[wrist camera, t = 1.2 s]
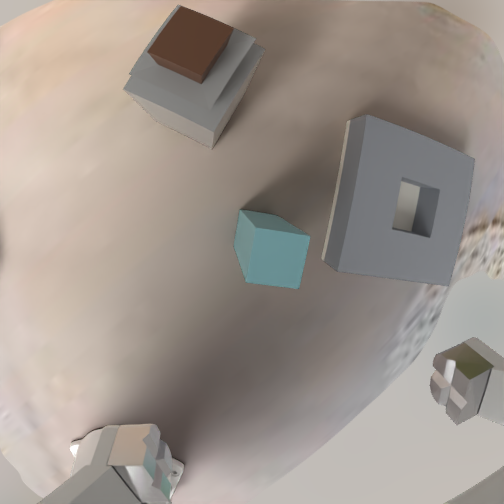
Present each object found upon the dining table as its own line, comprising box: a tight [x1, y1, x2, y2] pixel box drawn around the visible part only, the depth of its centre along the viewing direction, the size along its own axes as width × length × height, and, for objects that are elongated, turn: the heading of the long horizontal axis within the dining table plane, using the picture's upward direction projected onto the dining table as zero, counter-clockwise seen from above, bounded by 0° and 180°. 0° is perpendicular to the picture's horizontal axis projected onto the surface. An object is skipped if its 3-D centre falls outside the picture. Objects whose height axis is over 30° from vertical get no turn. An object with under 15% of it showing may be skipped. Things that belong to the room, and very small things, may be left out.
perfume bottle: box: [123, 5, 265, 149], centre depth 22 cm, size 7×7×18 cm
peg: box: [234, 209, 310, 289], centre depth 29 cm, size 4×4×12 cm
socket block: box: [321, 114, 475, 286], centre depth 34 cm, size 16×16×5 cm
